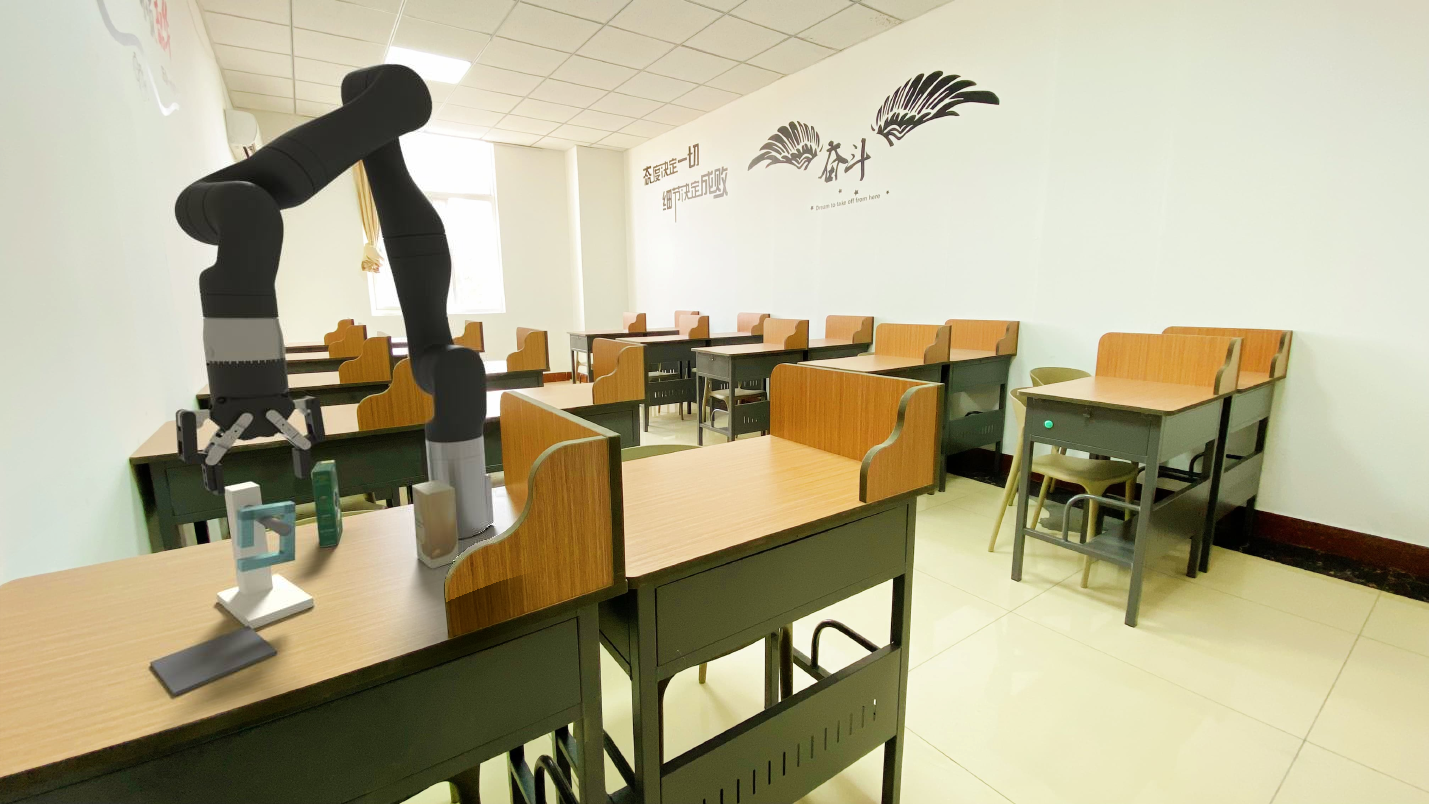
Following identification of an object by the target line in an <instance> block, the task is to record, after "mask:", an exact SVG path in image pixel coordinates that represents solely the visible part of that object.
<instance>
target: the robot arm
mask: <svg viewBox="0 0 1429 804" xmlns="http://www.w3.org/2000/svg"><path fill="white" fill-rule="evenodd" d="M340 98H341V103H342V106H340V107H338V108H336V109H334V110H332V111H330V112H328V113H326V114H322V115H320V116H318V117H315V118H314V119H311V120H309V121H307V122H305V123H303V124H300V125H298V126H296V127H294V128H292V129H289V130H288V131H285V132H284V133H282V134H281V135H279V136H277V137H276V138H274V139H273V140H271V141H270V142H268V143H267V144H265V145H264V146H262V147H260V148H259V149H258V150H256V151H255V152H254V153H253V154H251V155H250V156H248V157H247V158H245V159H242V160H240V161H238V162H236V163H233V164H230V165H227V166H226V167H223V168H221V169H219V170H217V171H214V172H212V173H210V174H208V175H206V176H203V177H201V178H199V179H197V180H195V181H193V182H192V183H190V184H189V185H188V186H186V187H185V188H184V189H183V190H182V191H181V192H180V193H179V195H178V196H177V198H176V200H175V204H174V217H175V219H176V222H177V224H178V225H179V227H180V228H181V230H183V232H184V233H185V234H186V235H188V236H189V237H191V239H194V240H195V241H198V242H200V243H202V244H206V245H211V246H215V247H216V246H217V250H216V251H217V252H216V261H215V263H214V264H213V265H211V266H210V267H207V268H205V269H204V270H202V271H201V272H200V274H199V278H198V286H199V287H198V288H199V294H200V302H201V311H202V317H203V323H202V325H203V327H202V343H203V351H204V359H205V365H206V372H207V374H206V375H207V380H208V387H209V396H210V403H209V406H208V408H207V409H194V410H193V409H192V410H191V409H190V410H189V409H184V408H181V409H180V408H179V409H178V410H177V411H176V412H175V424H176V425H175V427H176V444H177V457H178V459H179V460H181V461H183V462H185V463H187V464H200V465H201V469H202V475H203V476H202V477H203V485H204V487H205V488H206V490H207V491H209V492H212V493H213V494H214V495H215V496H221V495H225V487H226V486H225V481H224V480H225V479H224V473H223V465H222V464H221V463H220V462H219V461H220V460H221V459H222V457H223V456H224V455H225V453H226V452H227V450H229V449H231V448H232V447H233V445H234V444H235V442H236V441H237V440H240V441H243V442H244V441H251V440H254V439H257V438H272V437H275V435H277V434H278V435H279V436H281V437H283V438H284V439H285V440H287V441H288V442H289V443H290V444H292V446H294V448H293V447H292V448H291V452H292V461H293V471H294V476H295V477H296V478H298V479H305V478H307V477H308V473H311V472H312V470H313V466H312V457H311V448H312V447H313V446H314V445H316V444H318V443H324V441H326V438H327V435H326V429H325V425H324V423H325V422H324V417H323V412H322V407H321V406H322V405H321V401H320V399H319V398H316V397H313V396H309V395H305V396H303V397H302V398H300V399H299V398H298V399H294V400H293V399H292V398H291V396H290V386H289V378H288V377H289V376H288V369H287V368H288V367H287V360H286V358H287V357H286V353H287V350H286V349H287V348H286V345H285V341H284V334H283V331H282V328H281V327H282V326H281V324H280V323H281V322H280V316H279V308H278V300H277V292H276V291H277V290H276V280H277V275H278V271H279V268H280V261H281V256H282V255H281V254H282V249H283V244H284V236H285V235H284V234H285V226H284V219H283V216H282V212H281V211H284V210H287V209H293V208H296V207H299V206H300V205H303V204H305V203H306V202H308V201H310V199H312V198H313V197H315V195H316V194H318V193H319V192H321V191H322V190H323V189H324V188H326V187H328V185H329V184H331V183H332V182H333V181H334V180H335V179H337V178H338V177H340V176H341V175H342V174H344V172H346V171H348V170H349V169H350V168H352V166H354V165H355V164H357V163H359V162H360V161H361V163H362V165H363V167H364V171H365V175H366V178H367V182H368V185H369V189H370V192H371V196H372V199H373V205H374V208H375V211H376V214H377V218H378V223H379V225H380V231H381V237H382V238H383V239H382V240H383V241H382V242H383V244H384V250H385V252H386V257H387V260H388V265H389V267H390V270H391V275H392V279H393V282H394V286H395V291H396V295H397V299H398V302H399V306H400V309H401V313H402V318H403V323H404V328H405V334H406V342H407V350H408V356H409V357H408V358H409V363H410V364H409V365H410V366H409V367H410V370H411V375H412V378H413V380H414V382H415V385H417V387H419V389H420V390H421V391H423V392H424V393H426V394H428V395H430V396H433V397H434V415H433V417H432V418H431V419H429V420H428V421H426V423H425V425H424V436H425V446H426V447H425V448H426V449H425V450H426V460H427V473H428V482H430V481H434V480H440V481H442V482H444V483H446V484H448V485H449V486H451V487H453V488H454V489H455V504H456V520H457V537H458V540H460V539H465V538H470V537H474V536H473V535H475V536H477V535H479V534H478V533H479V532H481V531H483V530H484V529H486V528H487V526H488V525H490V524H492V523H493V522H494V506H493V489H492V475H490V474H488V473H487V472H486V458H485V457H486V456H485V443H484V442H485V440H484V424H485V421H486V419H487V414H488V413H487V410H488V403H487V402H488V401H487V397H488V395H487V393H488V392H487V390H488V389H487V386H488V385H487V373H486V367H485V364H484V361H483V359H482V357H481V355H480V354H479V353H478V352H477V351H476V350H474V349H473V348H471V347H468V346H465V345H457V344H455V343H454V340H453V336H452V332H451V329H450V323H449V318H448V312H447V309H448V306H447V304H448V298H449V292H450V285H451V279H452V268H453V267H452V265H453V264H452V257H451V256H452V255H451V252H450V251H451V250H450V248H449V243H448V242H449V241H448V238H447V233H446V229H445V225H444V223H443V219H442V218H441V217H440V215H439V212H438V211H437V210H436V209H435V207H434V206H433V204H432V203H431V202H430V200H429V199H428V198H427V196H426V195H425V194H424V193H423V191H422V190H421V189H420V187H419V186H418V184H417V183H416V182H415V181H414V180H413V177H412V176H411V173H410V172H409V170H408V167H407V165H406V162H405V161H406V160H405V158H404V154H403V150H402V147H401V142H400V137H401V136H404V135H406V134H409V133H412V132H415V131H417V130H420V129H421V128H423V127H424V126H426V125H427V123H429V121H430V118H431V116H432V112H433V100H432V95H431V93H430V90H429V87H428V86H427V83H426V82H425V81H424V79H423V78H422V77H421V76H420V73H417V71H415V70H414V69H413V68H411V67H409V66H408V65H405V64H404V63H399V62H384V63H379V64H376V65H371V66H368V67H364V68H363V67H362V68H359V69H356V70H352V71H349V72H348V73H346V75H345V76H344V78H343V79H342V81H341V85H340ZM295 410H297V411H298V413H299V414H300V415H303V416H304V422H305V427H306V428H305V429H306V434H304V435H303V434H301V433H300V431H299V430H297V429H296V427H294V426H293V425H292V424H291V423H290V422H289V421H288V420H289V419H290V417H291V416H292V414H293V413H294V411H295ZM208 419H209V420H210V421H211V422H213V423H214V424H215V425H216V426H217V427H218V428H217V429H216V430H215V431H214V433H213V435H212V436H211V437H210V438H209V442H208V443H207V445H205V447H204V448H203V450H202V451H198V450H199V448H198V447H199V446H198V431H197V429H201V428H202V427H203V426H204V422H205V421H206V420H208ZM494 523H495V522H494ZM476 534H477V535H476Z"/></svg>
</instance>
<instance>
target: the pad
mask: <svg viewBox="0 0 1429 804" xmlns="http://www.w3.org/2000/svg"><path fill="white" fill-rule="evenodd" d="M277 654H278V650H277V649H276V648H275V647H274V646H273V645H271V644H270V643H269V642H268V641H267V640H266V639H265V638H263V637H262V636H261V635H260V634H258V633H257V631H255V630H254V629H252V628H251V627H249V626H244V627H241V628H238V629H235V630H233V631H230V632H228V633H225V634H223V635H220V636H216V637H214V638H211V639H209V640H206V641H204V642H203V641H202V642H200V643H198V644H195V645H192V646H190V647H187V648H185V649H182V650H178V651H176V652H174V653H171V654H168V655H166V656H163V657H160V658H158V659H154V660H152V661H150V662H149V664H150V666H151V668H152V669H153V670H154V672H155V673H156V674H157V676H158V677H159V678H160V680H161V681H162V682H163V683H164V685H165V686H166V687H167V689H168V690H169V691H170V693H171V694H172V695H173V697H176V696H179V695H182V694H183V693H186V692H189V691H190V690H194V689H195V688H198V687H201V686H203V685H205V684H207V683H210V682H213V681H214V680H217V679H219V678H222V677H225V676H227V675H229V674H232V673H234V672H236V671H238V670H242V669H244V668H245V667H248V666H251V665H253V664H255V663H259V662H260V661H263V660H265V659H267V658H270V657H272V656H274V655H277Z"/></svg>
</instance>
